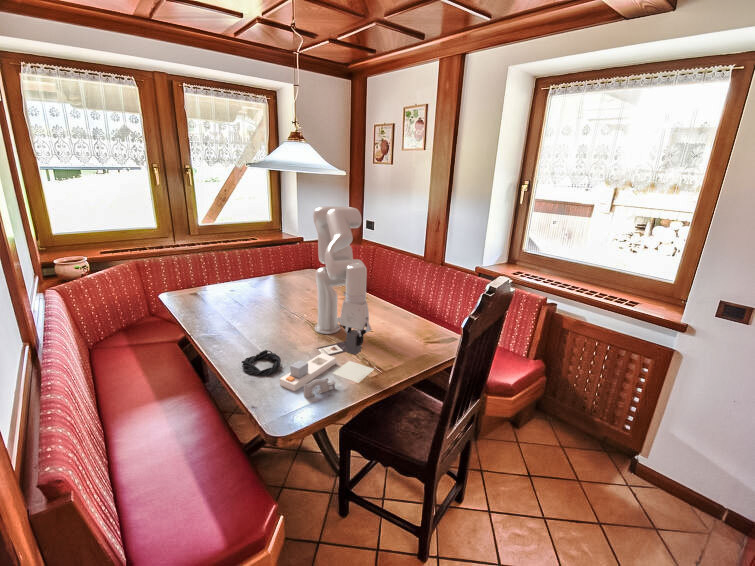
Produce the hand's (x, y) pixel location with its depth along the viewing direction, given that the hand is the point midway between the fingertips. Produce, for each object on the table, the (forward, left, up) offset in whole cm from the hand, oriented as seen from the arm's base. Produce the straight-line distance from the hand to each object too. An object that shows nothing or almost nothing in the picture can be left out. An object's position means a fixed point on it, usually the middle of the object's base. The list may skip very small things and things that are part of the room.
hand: (354, 342), depth 142 cm
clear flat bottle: (+19, -2, -13) cm, 23 cm away
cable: (+17, -32, -13) cm, 39 cm away
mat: (0, 0, -13) cm, 13 cm away
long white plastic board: (+11, -13, -13) cm, 22 cm away
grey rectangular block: (0, 0, -4) cm, 4 cm away
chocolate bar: (-13, -16, -13) cm, 25 cm away
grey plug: (+16, -13, -12) cm, 24 cm away
